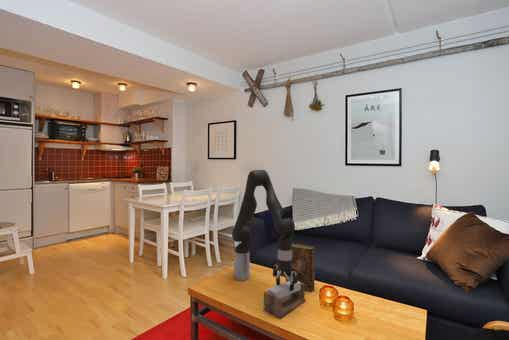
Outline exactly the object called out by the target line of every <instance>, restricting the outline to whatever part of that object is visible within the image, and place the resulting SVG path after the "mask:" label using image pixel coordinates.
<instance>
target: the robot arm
mask: <svg viewBox="0 0 509 340" xmlns="http://www.w3.org/2000/svg"><path fill="white" fill-rule="evenodd" d="M257 187H263V188H264V190H265V193H266V194H265V195H266V197H265V198H266V199H265V203H266V207H267V209H268V211H269V214H271V219H272V222H273V223H272V224H273V227H274V230H275V231H276V232H277V234H279V235H281V236H280V237H279V238H278V240H277V264H274V265H273V266H272V277H274V278H275V284H276V286H277V285H280V284H281V277H283V278H285V279H286V278H287V280H288V281H289V282H290V291H293V290H294V284H296V283H298V278H297V271H295V272H294V271H292V241H293V239H294V233H295V230H296V228H295V227H296V225H295V222H294V220H293V219H292V218H291V217H290V218H289V217H288V218H282V217H283V215H284V214H285V210H284V208H283V206H282V205H281V203H280V201H279V199H278V197H277V194H276V192H275V189H274V186H273V183H272V181H271V177H270V175H269V174H268V172H267V171H266V170H265V169H256V170H255V169H254V170H251V171H249V172H248V175H247V179H246V185H245V190H244V194H243V198H242V201H241V205H240V208H239V212H238V216H237V218H236V221H235V224H234V227H233V228H232V233H231V237H232V240H233V242H236V243H238V244H237V245H236V246H235V247H234V258H235V259H234V260H235V261H234V262H233V263H234V265H233V270H234V271H233V275H234V276H233V277H234V278H235V280H237V281H240V282H241V281H242V282H243V281H247V280H249V279H250V273H251V272H250V271H251V270H250V248H251V237H252V236H251V234H252V233H251V229H250V227H249V226H248V225H246V224H247V223H248V222H249V221H250V220H251V219H252V218H253V217H254V215H255V213H256V211H257V207H258V203H257V199H256V196H255V191H256V188H257ZM239 242H240V243H239ZM289 276H290V278H289Z"/></svg>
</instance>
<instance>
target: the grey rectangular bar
mask: <svg viewBox="0 0 509 340" xmlns="http://www.w3.org/2000/svg"><path fill="white" fill-rule="evenodd" d="M267 289H268V290H267V292H268V293H270V294H273V295H275V296H277V297H279V298H282V297H284V296H287V295H289V294H292V293H294V292H296V291H299V290H301V282H299V281H298V283H296V284H294V290H293V291H290V282H289V281H288V282H286V281H285V282H283V283H280V285H277V284H276V285H275V286H272V287H269V288H267Z"/></svg>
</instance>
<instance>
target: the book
mask: <svg viewBox="0 0 509 340" xmlns="http://www.w3.org/2000/svg"><path fill="white" fill-rule="evenodd" d="M315 256H316V255H315V246H313V245H307V244H300V243H294V242H293V243H292V271H294V272H295V271H297V278H298V281H299V282H302V283H304V284H305V292H307V293H308V292H309V293H314V291H315ZM289 278H290V276H289ZM285 282H288V280H287V278H285Z"/></svg>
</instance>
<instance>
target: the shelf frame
mask: <svg viewBox="0 0 509 340" xmlns="http://www.w3.org/2000/svg"><path fill="white" fill-rule="evenodd" d="M305 292H306V291H305V284H304V283H302V282H301V290H299V291H296V292H294V293H292V294H289V295H287V296H284V297H282V298H279V297H277V296H275V295H273V294H270V293H268V291H264V292H263V312H266V313H267V314H269V315H272V316H273V317H276V318H277V319H280V320H282V319H283V318H285V317H286V316H287V315H288V314H290V313H292V312H293V311H295V310H296V309H297V308H298V307H300V306H301V305H303V304H304V303H305V302H306V299H305V297H306V296H305Z"/></svg>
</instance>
